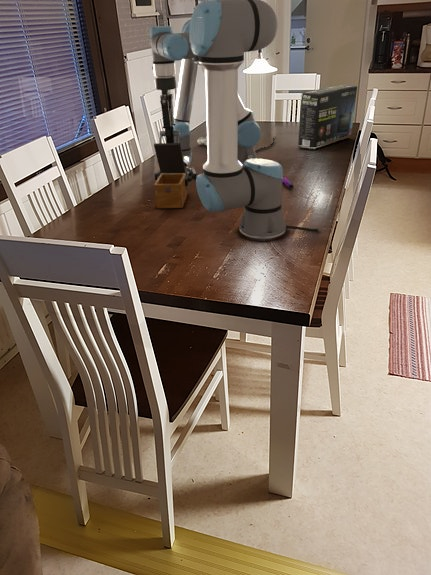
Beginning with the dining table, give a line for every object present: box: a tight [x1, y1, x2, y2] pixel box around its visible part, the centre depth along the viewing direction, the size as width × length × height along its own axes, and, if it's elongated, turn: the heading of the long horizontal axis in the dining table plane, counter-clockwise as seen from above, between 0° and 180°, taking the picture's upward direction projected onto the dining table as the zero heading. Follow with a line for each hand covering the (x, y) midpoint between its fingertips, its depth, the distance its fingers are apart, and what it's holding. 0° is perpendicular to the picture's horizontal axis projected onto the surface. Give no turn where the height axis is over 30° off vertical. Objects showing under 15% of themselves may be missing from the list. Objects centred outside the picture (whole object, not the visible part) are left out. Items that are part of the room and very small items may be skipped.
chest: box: [153, 173, 188, 209], centre depth 174 cm, size 14×10×9 cm
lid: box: [153, 130, 185, 173], centre depth 173 cm, size 15×10×9 cm
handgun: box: [282, 176, 294, 190], centre depth 191 cm, size 21×8×2 cm, turn 11°
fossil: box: [196, 135, 207, 147], centre depth 250 cm, size 18×11×15 cm
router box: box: [297, 84, 358, 151], centre depth 238 cm, size 36×11×27 cm, turn 134°
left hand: (172, 183), depth 177 cm, fingers closed on chest, 10 cm apart
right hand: (170, 144), depth 172 cm, fingers closed on lid, 2 cm apart
